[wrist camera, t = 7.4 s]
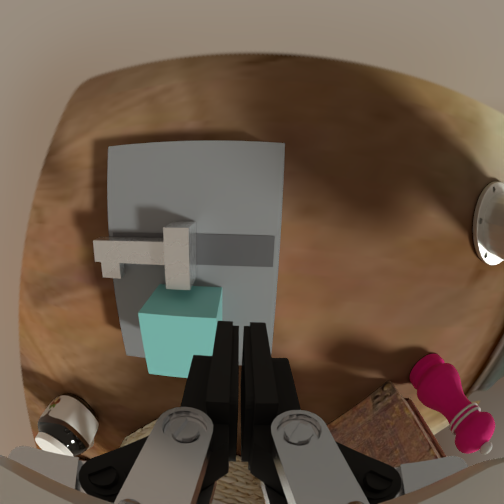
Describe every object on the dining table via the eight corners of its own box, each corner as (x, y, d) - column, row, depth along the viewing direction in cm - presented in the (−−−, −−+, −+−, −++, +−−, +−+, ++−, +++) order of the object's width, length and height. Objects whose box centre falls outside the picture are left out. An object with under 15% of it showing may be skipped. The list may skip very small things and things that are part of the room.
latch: (195, 221, 23) (188, 227, 20) (196, 277, 25) (190, 291, 21) (99, 221, 23) (82, 227, 20) (104, 272, 24) (89, 284, 21)
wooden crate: (390, 378, 34) (480, 533, 5) (410, 399, 36) (485, 525, 7) (267, 457, 38) (280, 600, 9) (299, 470, 40) (320, 593, 11)
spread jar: (83, 389, 34) (53, 438, 22) (121, 433, 36) (102, 481, 25) (45, 392, 34) (17, 431, 23) (79, 433, 37) (60, 472, 26)
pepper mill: (399, 376, 34) (460, 470, 15) (432, 342, 33) (509, 425, 14) (416, 391, 35) (470, 472, 16) (447, 361, 34) (511, 434, 15)
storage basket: (269, 465, 39) (275, 529, 25) (211, 486, 42) (207, 540, 27) (163, 405, 34) (140, 485, 20) (115, 434, 37) (91, 494, 22)
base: (279, 148, 26) (285, 143, 22) (267, 345, 31) (270, 365, 27) (125, 150, 25) (107, 146, 21) (137, 337, 31) (126, 355, 27)
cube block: (222, 287, 25) (216, 318, 19) (222, 341, 27) (218, 380, 21) (159, 284, 25) (138, 312, 19) (164, 337, 26) (148, 373, 21)
